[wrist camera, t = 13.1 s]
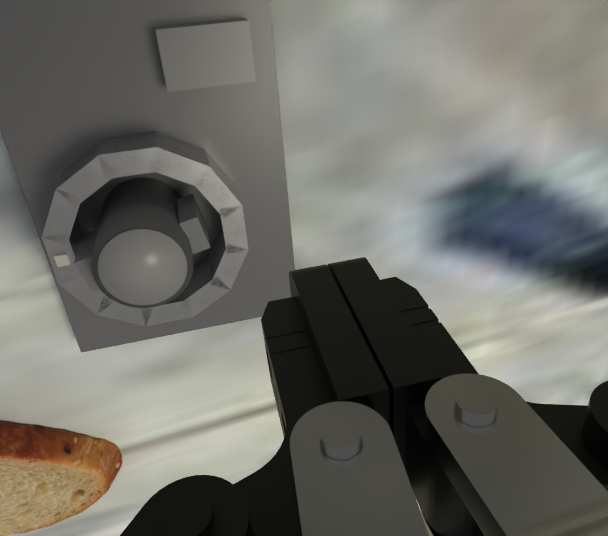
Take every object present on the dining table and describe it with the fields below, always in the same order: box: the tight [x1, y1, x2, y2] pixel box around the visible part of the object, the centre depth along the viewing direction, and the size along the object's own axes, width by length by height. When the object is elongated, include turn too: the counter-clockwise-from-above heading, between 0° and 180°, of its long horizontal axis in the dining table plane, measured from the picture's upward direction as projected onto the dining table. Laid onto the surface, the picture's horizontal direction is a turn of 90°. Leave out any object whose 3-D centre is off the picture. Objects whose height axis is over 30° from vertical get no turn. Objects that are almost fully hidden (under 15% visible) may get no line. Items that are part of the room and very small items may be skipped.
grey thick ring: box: [42, 131, 249, 326], centre depth 29 cm, size 10×10×3 cm
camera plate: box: [0, 0, 295, 352], centre depth 29 cm, size 14×20×3 cm
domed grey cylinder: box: [74, 178, 210, 308], centre depth 27 cm, size 6×5×6 cm
